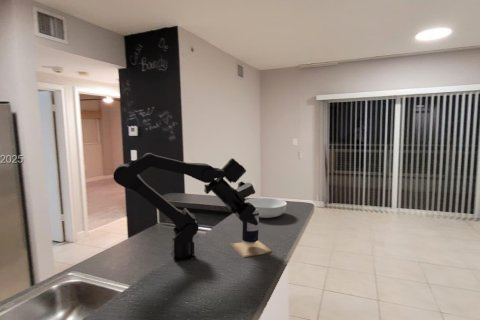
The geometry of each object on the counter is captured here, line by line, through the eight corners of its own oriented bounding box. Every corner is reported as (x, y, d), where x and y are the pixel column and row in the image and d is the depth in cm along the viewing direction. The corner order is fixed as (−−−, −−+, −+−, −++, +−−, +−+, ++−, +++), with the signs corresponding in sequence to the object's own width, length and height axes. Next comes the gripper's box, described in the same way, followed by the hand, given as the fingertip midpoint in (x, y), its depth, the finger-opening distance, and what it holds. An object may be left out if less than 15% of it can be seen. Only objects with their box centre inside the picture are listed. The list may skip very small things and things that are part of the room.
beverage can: (259, 240, 107) (261, 207, 106) (255, 245, 102) (256, 211, 100) (245, 237, 109) (246, 206, 108) (240, 243, 103) (241, 209, 102)
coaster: (243, 257, 98) (243, 255, 98) (230, 245, 108) (230, 244, 108) (271, 252, 103) (271, 250, 103) (256, 241, 113) (256, 239, 113)
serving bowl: (285, 210, 157) (285, 198, 156) (287, 223, 136) (288, 208, 135) (246, 209, 159) (246, 196, 158) (242, 221, 138) (243, 206, 137)
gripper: (250, 180, 93) (281, 212, 97) (233, 171, 110) (259, 199, 115) (226, 205, 91) (258, 237, 96) (212, 193, 109) (240, 220, 113)
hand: (254, 221), depth 105 cm, fingers closed on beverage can, 6 cm apart
